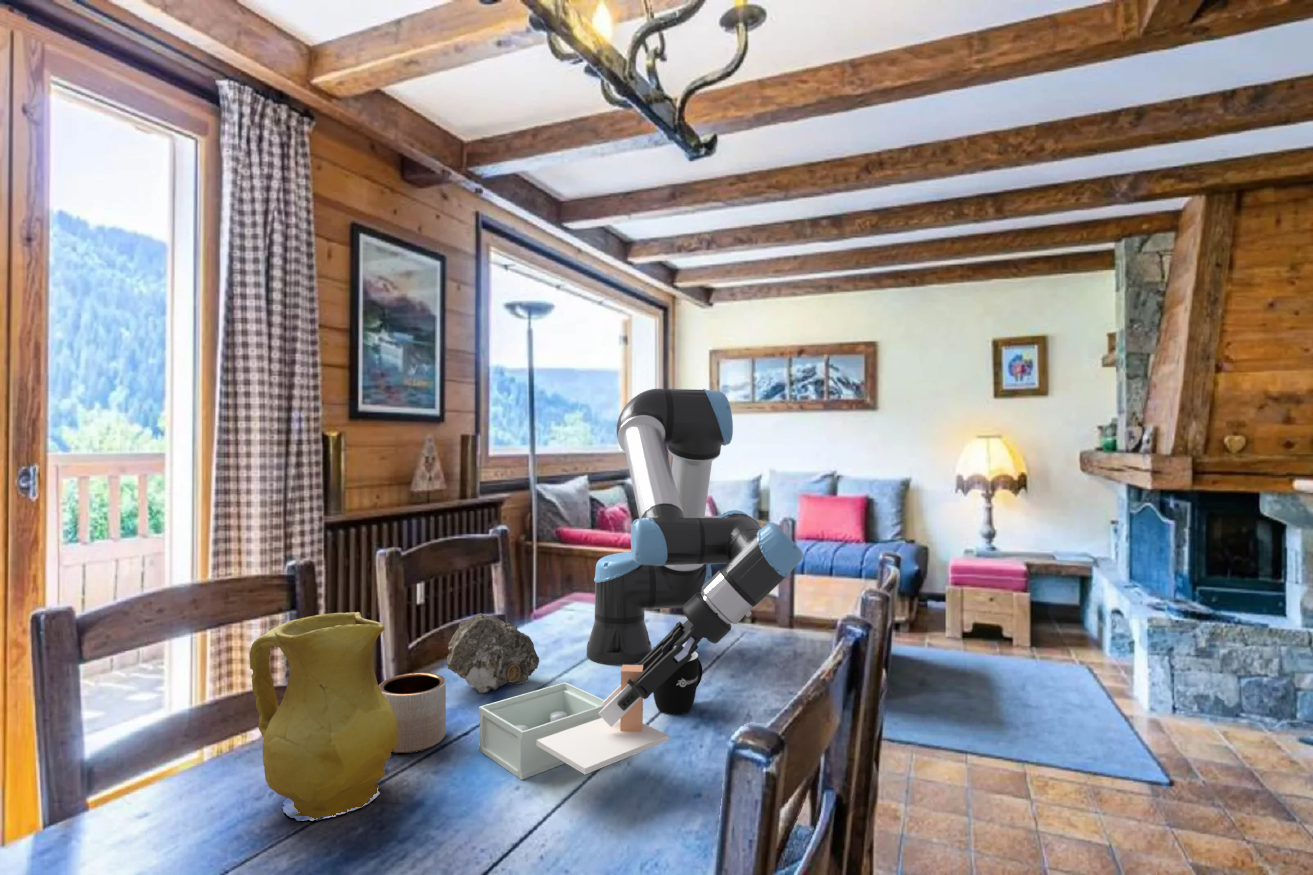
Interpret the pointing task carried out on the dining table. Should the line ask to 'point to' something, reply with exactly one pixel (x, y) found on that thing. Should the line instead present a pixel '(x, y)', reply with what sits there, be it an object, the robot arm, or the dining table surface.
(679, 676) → the mug
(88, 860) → the dining table surface
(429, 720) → the planter
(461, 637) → the rock
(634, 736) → the lid
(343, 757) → the pitcher
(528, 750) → the tub
